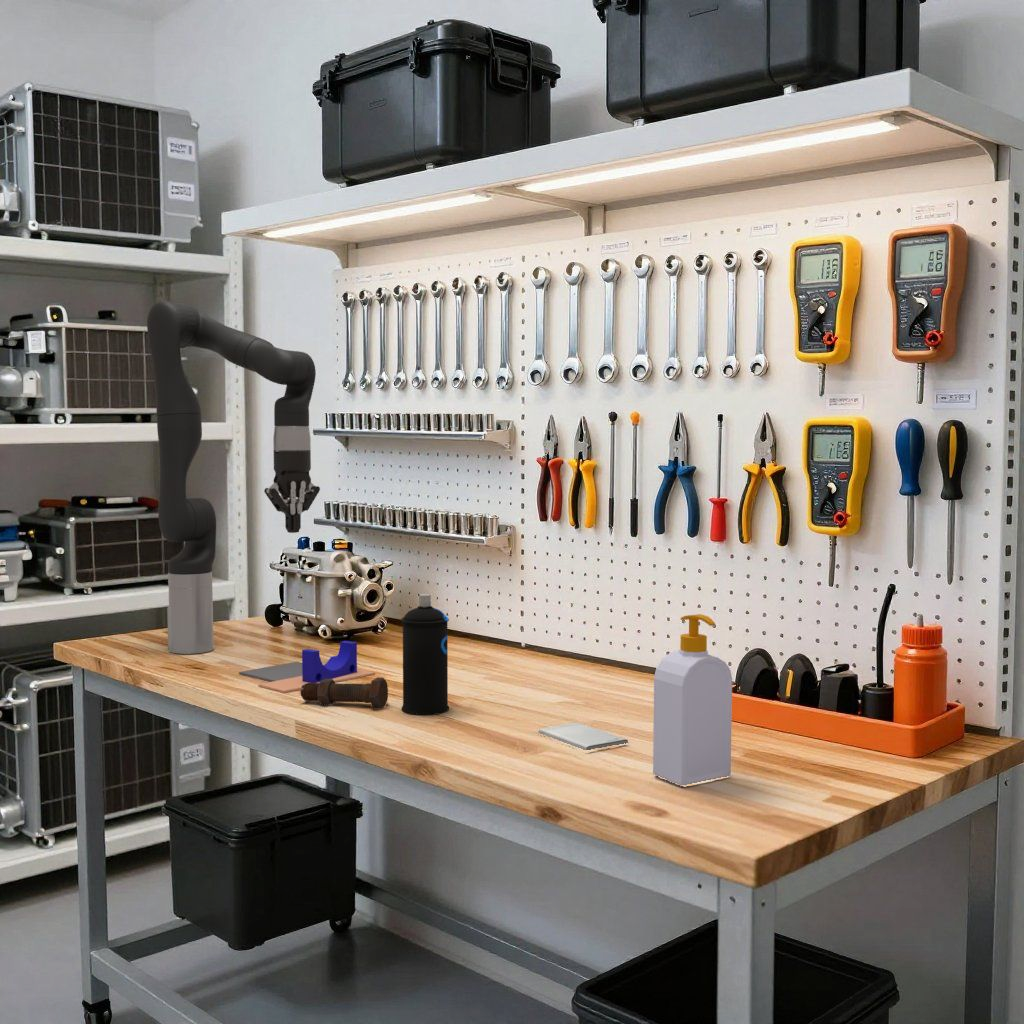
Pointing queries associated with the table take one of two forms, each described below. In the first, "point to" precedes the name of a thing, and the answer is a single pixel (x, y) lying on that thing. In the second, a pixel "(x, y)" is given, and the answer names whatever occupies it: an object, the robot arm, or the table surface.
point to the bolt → (347, 692)
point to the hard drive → (582, 736)
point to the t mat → (291, 676)
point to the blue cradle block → (329, 663)
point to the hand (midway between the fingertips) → (293, 532)
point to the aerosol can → (425, 660)
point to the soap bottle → (692, 711)
